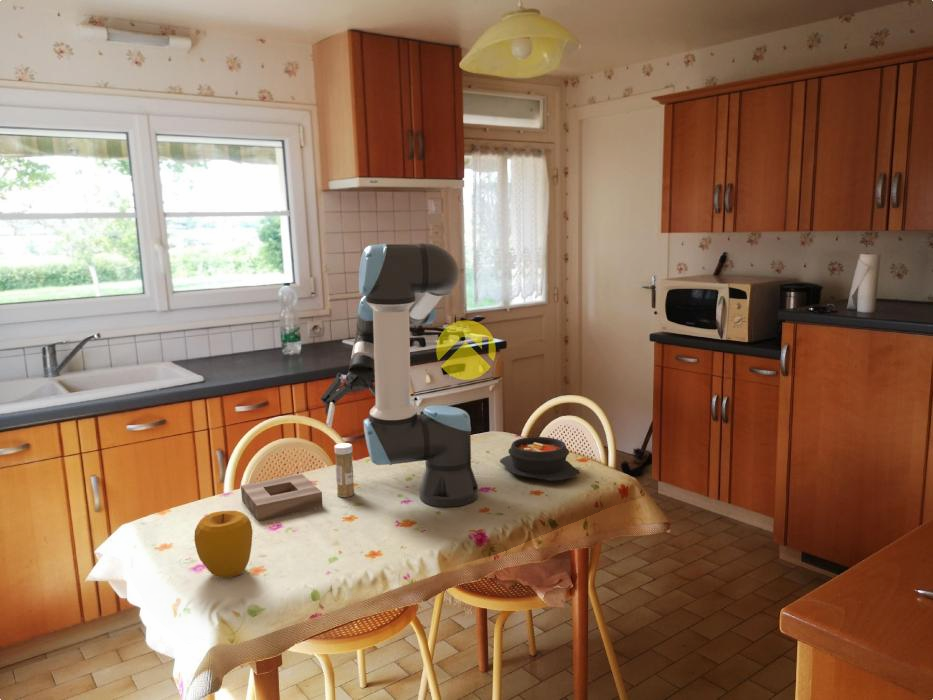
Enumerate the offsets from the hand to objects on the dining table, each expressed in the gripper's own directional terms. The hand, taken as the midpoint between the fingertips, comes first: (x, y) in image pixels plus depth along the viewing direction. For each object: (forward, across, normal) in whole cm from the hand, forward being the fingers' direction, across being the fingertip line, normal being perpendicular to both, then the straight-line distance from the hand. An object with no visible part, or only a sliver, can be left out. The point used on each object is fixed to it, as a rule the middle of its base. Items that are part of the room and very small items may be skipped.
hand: (353, 425), depth 191 cm
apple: (+50, +13, +27) cm, 58 cm away
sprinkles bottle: (+19, 0, -4) cm, 19 cm away
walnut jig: (+24, +15, +1) cm, 28 cm away
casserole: (+5, -50, -17) cm, 53 cm away
